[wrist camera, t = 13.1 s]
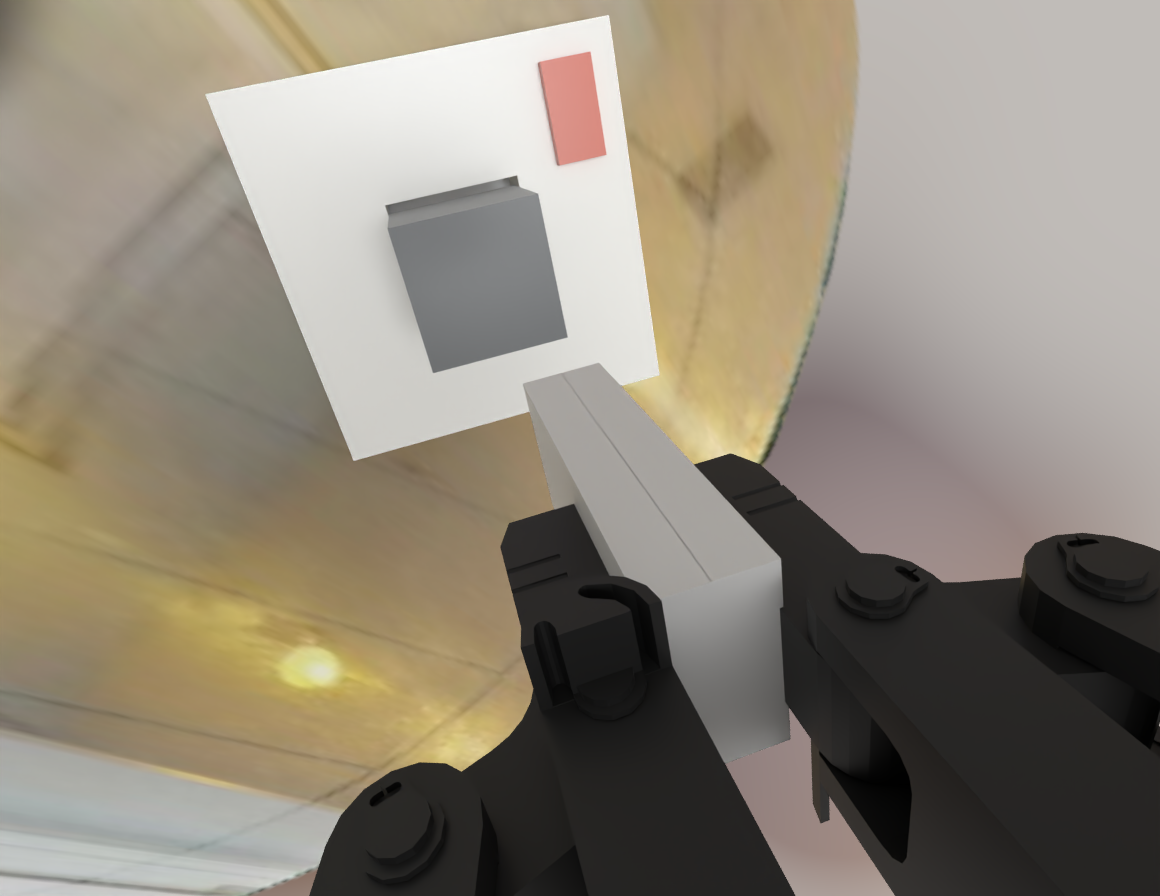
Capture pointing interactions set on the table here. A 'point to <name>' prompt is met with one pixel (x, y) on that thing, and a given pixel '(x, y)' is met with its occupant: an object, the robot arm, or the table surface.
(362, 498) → the table surface
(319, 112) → the socket plate
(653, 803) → the robot arm
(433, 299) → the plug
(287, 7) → the table surface
